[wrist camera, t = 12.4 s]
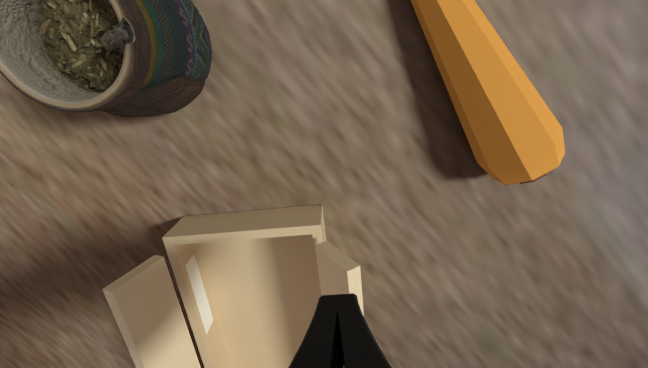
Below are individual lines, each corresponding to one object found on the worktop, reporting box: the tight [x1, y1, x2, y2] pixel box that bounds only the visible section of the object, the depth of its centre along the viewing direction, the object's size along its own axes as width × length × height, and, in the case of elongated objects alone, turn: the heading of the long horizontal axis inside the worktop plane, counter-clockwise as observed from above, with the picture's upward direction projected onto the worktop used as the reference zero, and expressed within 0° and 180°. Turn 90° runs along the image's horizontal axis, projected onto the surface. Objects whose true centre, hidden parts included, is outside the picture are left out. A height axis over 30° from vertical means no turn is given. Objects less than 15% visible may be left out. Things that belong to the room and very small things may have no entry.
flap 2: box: [315, 241, 364, 368], centre depth 19 cm, size 3×15×1 cm
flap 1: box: [102, 255, 201, 368], centre depth 20 cm, size 3×15×1 cm
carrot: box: [411, 0, 565, 185], centre depth 16 cm, size 20×4×4 cm, turn 34°
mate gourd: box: [0, 0, 212, 117], centre depth 13 cm, size 7×8×10 cm
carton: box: [162, 205, 326, 368], centre depth 23 cm, size 10×16×3 cm, turn 6°
